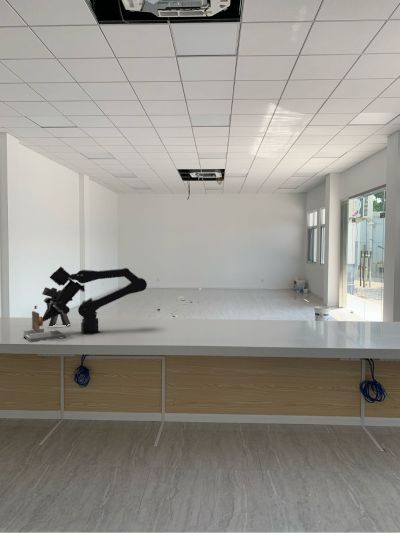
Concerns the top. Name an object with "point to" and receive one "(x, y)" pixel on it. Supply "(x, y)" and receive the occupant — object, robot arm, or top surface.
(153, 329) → the top surface
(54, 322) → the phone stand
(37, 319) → the press plate
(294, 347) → the top surface
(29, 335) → the press base
